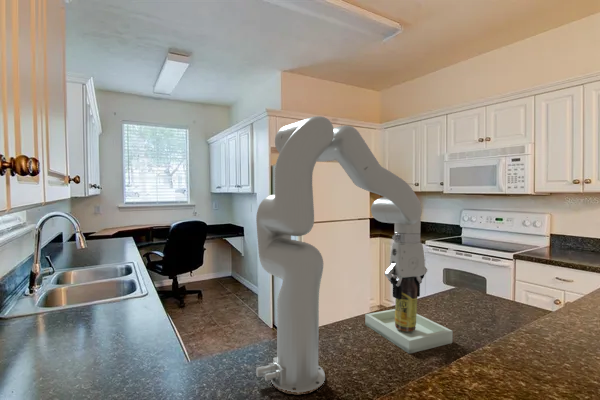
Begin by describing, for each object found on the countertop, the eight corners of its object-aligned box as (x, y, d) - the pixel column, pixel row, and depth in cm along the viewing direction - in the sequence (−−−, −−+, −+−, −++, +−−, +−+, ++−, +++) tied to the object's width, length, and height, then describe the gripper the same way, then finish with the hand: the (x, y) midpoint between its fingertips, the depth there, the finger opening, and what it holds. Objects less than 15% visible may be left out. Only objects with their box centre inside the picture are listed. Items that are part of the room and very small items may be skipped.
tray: (409, 353, 83) (409, 340, 83) (365, 324, 101) (365, 314, 101) (452, 342, 89) (452, 330, 89) (403, 317, 108) (403, 307, 108)
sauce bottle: (390, 325, 97) (391, 262, 97) (406, 323, 99) (407, 261, 99) (404, 334, 91) (405, 267, 91) (421, 331, 93) (422, 265, 93)
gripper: (392, 241, 88) (391, 304, 88) (438, 238, 95) (437, 297, 95) (376, 238, 95) (375, 296, 95) (419, 235, 102) (418, 290, 102)
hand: (406, 296), depth 95 cm, fingers open, 6 cm apart
